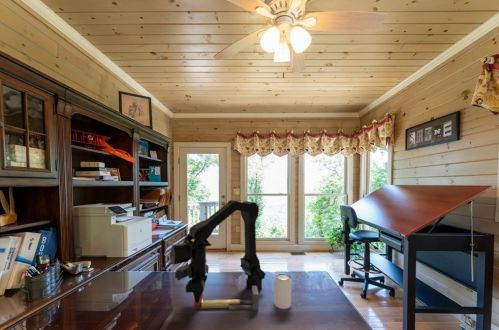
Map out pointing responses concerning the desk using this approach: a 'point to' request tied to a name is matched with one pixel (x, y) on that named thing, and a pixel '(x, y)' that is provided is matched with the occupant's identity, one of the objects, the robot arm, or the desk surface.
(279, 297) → the can
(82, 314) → the desk surface
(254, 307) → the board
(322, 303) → the desk surface
